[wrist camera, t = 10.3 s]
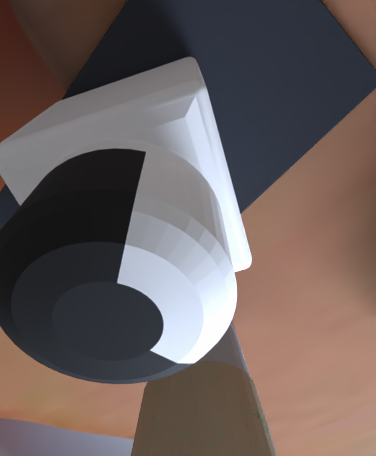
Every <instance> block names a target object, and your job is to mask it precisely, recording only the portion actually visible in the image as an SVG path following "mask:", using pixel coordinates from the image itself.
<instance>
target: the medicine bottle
mask: <svg viewBox="0 0 376 456" xmlns="http://www.w3.org/2000/svg"><path fill="white" fill-rule="evenodd" d="M0 175H1V177H2V178H3V180H4V181H5V183H6V184H7V186H8V188H9V189H10V191H11V192H12V194H13V196H14V197H15V199H16V200H17V202H18V203H19V205H20V207H19V208H18V209H17V211H16V212H15V213H14V214H13V215H12V217H11V218H10V219H9V220H8V221H7V223H6V224H5V225H4V226H3V227H2V229H1V230H0V326H1V327H2V329H3V330H4V332H5V333H6V335H7V336H8V337H9V338H10V339H11V340H12V341H13V342H14V344H15V345H17V346H18V347H19V348H20V349H21V350H22V351H23V352H25V353H26V354H27V355H29V356H30V357H32V358H33V359H35V360H36V361H38V362H39V363H41V364H43V365H45V366H47V367H48V368H51V369H53V370H55V371H58V372H60V373H62V374H65V375H68V376H71V377H74V378H78V379H83V380H87V381H92V382H99V383H109V384H132V383H140V382H147V381H152V380H157V379H160V378H164V377H167V376H170V375H172V374H175V373H177V372H179V371H181V370H184V369H185V368H187V367H189V366H190V365H192V364H194V363H195V362H196V361H198V360H199V359H200V358H202V357H203V356H204V355H205V354H206V353H207V352H208V351H209V350H210V349H211V348H212V347H213V346H214V345H215V344H216V343H217V342H218V341H219V340H220V339H221V337H222V336H223V334H224V333H225V332H226V330H227V328H228V326H229V324H230V322H231V320H232V318H233V315H234V311H235V308H236V300H237V285H236V278H235V273H234V272H235V271H239V270H243V269H246V268H248V267H249V266H250V265H251V261H252V256H251V252H250V249H249V245H248V241H247V237H246V234H245V230H244V226H243V222H242V219H241V215H240V211H239V207H238V204H237V200H236V196H235V192H234V189H233V185H232V181H231V177H230V174H229V170H228V166H227V162H226V159H225V155H224V151H223V147H222V144H221V140H220V136H219V132H218V129H217V125H216V121H215V117H214V114H213V110H212V106H211V102H210V98H209V95H208V91H207V88H206V85H205V82H204V79H203V77H202V74H201V71H200V68H199V66H198V63H197V61H196V59H194V58H193V57H186V58H183V59H180V60H177V61H174V62H171V63H168V64H165V65H162V66H160V67H157V68H154V69H151V70H148V71H145V72H142V73H139V74H136V75H133V76H131V77H128V78H125V79H122V80H119V81H116V82H113V83H110V84H107V85H104V86H102V87H99V88H96V89H93V90H90V91H87V92H84V93H81V94H78V95H75V96H73V97H70V98H67V99H64V100H61V101H58V102H56V103H55V104H53V105H52V106H51V107H49V108H48V109H47V110H45V111H44V112H42V113H41V114H39V115H38V116H37V117H35V118H34V119H33V120H31V121H30V122H29V123H27V124H26V125H24V126H23V127H22V128H20V129H19V130H18V131H16V132H15V133H13V134H12V135H10V136H9V137H8V138H7V139H5V140H3V141H2V142H1V143H0Z"/></svg>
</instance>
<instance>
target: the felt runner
mask: <svg viewBox="0 0 376 456" xmlns="http://www.w3.org/2000/svg"><path fill="white" fill-rule="evenodd" d="M186 57H193V58H194V59H196V61H197V63H198V66H199V68H200V71H201V74H202V77H203V79H204V82H205V85H206V88H207V91H208V95H209V98H210V102H211V106H212V110H213V114H214V117H215V121H216V125H217V129H218V132H219V136H220V140H221V144H222V147H223V151H224V155H225V159H226V162H227V166H228V170H229V174H230V177H231V181H232V185H233V189H234V192H235V196H236V200H237V204H238V207H239V211H240V214H241V213H242V212H243V211H244V210H245V209H246V208H247V207H248V206H249V205H250V204H252V203H253V202H254V201H255V200H256V199H257V198H258V197H259V196H260V195H261V194H262V193H263V192H264V191H265V190H267V189H268V188H269V187H270V186H271V185H272V184H273V183H274V182H275V181H276V180H277V179H278V178H279V177H281V176H282V175H283V174H284V173H285V172H286V171H287V170H288V169H289V168H290V167H291V166H292V165H293V164H295V163H296V162H297V161H298V160H299V159H300V158H301V157H302V156H303V155H304V154H305V153H306V152H307V151H308V150H310V149H311V148H312V147H313V146H314V145H315V144H316V143H317V142H318V141H319V140H320V139H321V138H322V137H324V136H325V135H326V134H327V133H328V132H329V131H330V130H331V129H332V128H333V127H334V126H335V125H336V124H338V123H339V122H340V121H341V120H342V119H343V118H344V117H345V116H346V115H347V114H348V113H349V112H350V111H352V110H353V109H354V108H355V107H356V106H357V105H358V104H359V103H360V102H361V101H362V100H363V99H364V98H365V97H367V96H368V95H369V94H370V93H371V92H372V91H373V90H374V89H375V88H376V70H375V69H374V67H373V66H372V65H371V64H370V62H369V61H368V60H367V58H366V57H365V56H364V55H363V53H362V52H361V51H360V50H359V48H358V47H357V46H356V45H355V43H354V42H353V41H352V40H351V38H350V37H349V36H348V34H347V33H346V32H345V31H344V29H343V28H342V27H341V26H340V24H339V23H338V22H337V21H336V19H335V18H334V17H333V15H332V14H331V13H330V12H329V10H328V9H327V8H326V7H325V5H324V4H323V3H322V2H321V0H128V1H127V2H126V4H125V5H124V7H123V8H122V10H121V11H120V13H119V14H118V16H117V17H116V19H115V20H114V22H113V23H112V25H111V26H110V28H109V29H108V31H107V32H106V34H105V35H104V37H103V38H102V40H101V41H100V43H99V44H98V46H97V47H96V49H95V50H94V52H93V53H92V55H91V56H90V58H89V59H88V61H87V62H86V64H85V65H84V67H83V68H82V70H81V71H80V73H79V74H78V76H77V77H76V79H75V80H74V82H73V83H72V85H71V86H70V88H69V89H68V91H67V92H66V94H65V96H64V97H63V99H62V100H64V99H67V98H70V97H73V96H75V95H78V94H81V93H84V92H87V91H90V90H93V89H96V88H99V87H102V86H104V85H107V84H110V83H113V82H116V81H119V80H122V79H125V78H128V77H131V76H133V75H136V74H139V73H142V72H145V71H148V70H151V69H154V68H157V67H160V66H162V65H165V64H168V63H171V62H174V61H177V60H180V59H183V58H186ZM19 207H20V205H19V203H18V202H17V200H16V199H15V197H14V196H13V194H12V192H11V191H10V189H9V188H8V186H7V184H5V186H4V187H3V189H2V190H1V192H0V230H1V229H2V227H3V226H4V225H5V224H6V223H7V221H8V220H9V219H10V218H11V217H12V215H13V214H14V213H15V212H16V211H17V209H18V208H19Z"/></svg>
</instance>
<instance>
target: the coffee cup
mask: <svg viewBox="0 0 376 456" xmlns="http://www.w3.org/2000/svg"><path fill="white" fill-rule="evenodd" d="M131 456H277V452H276V449H275V446H274V443H273V440H272V437H271V433H270V430H269V427H268V424H267V421H266V417H265V414H264V411H263V408H262V405H261V402H260V398H259V395H258V392H257V389H256V386H255V384H254V382H253V380H252V378H251V377H250V374H249V371H248V368H247V365H246V362H245V358H244V355H243V352H242V349H241V346H240V342H239V339H238V336H237V333H236V330H235V328H234V325H233V324H232V322H230V324H229V326H228V328H227V330H226V332H225V333H224V334H223V336H222V337H221V339H220V340H219V341H218V342H217V343H216V344H215V345H214V346H213V347H212V348H211V349H210V350H209V351H208V352H207V353H206V354H205V355H204V356H203V357H202V358H200V359H199V360H198V361H196V362H195V363H194V364H192V365H190V366H189V367H187V368H185V369H184V370H181V371H179V372H177V373H175V374H172V375H170V376H167V377H164V378H160V379H157V380H152V381H148V383H147V385H146V387H145V389H144V394H143V399H142V404H141V409H140V413H139V418H138V423H137V428H136V433H135V438H134V443H133V448H132V453H131Z"/></svg>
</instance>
